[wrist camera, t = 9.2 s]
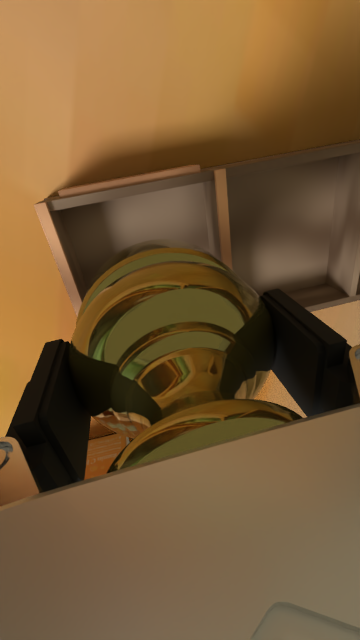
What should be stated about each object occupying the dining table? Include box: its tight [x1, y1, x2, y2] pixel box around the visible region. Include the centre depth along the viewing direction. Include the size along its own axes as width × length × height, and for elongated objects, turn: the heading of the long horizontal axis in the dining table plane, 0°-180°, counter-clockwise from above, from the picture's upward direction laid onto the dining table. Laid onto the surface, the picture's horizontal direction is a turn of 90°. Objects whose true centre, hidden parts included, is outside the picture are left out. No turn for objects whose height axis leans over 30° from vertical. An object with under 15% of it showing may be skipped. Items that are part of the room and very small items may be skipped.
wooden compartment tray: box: [34, 139, 360, 317], centre depth 21 cm, size 11×31×4 cm, turn 99°
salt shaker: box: [68, 239, 303, 474], centre depth 9 cm, size 7×7×10 cm
